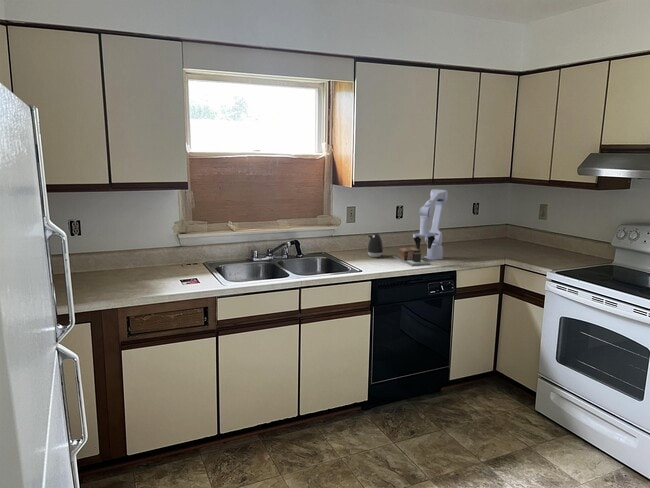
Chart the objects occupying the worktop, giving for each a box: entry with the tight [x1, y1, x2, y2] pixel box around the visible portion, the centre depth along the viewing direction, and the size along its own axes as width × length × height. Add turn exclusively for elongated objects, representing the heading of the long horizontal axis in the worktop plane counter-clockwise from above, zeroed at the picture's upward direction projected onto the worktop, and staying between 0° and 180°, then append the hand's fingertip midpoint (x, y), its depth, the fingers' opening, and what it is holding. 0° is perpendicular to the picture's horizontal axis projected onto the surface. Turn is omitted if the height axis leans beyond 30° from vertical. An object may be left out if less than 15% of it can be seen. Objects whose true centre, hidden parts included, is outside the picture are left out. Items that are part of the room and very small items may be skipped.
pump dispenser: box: [366, 233, 384, 259], centre depth 316 cm, size 10×10×15 cm
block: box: [405, 251, 414, 258], centre depth 309 cm, size 4×4×4 cm
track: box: [392, 254, 431, 267], centre depth 308 cm, size 12×25×1 cm, turn 19°
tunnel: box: [397, 246, 422, 260], centre depth 309 cm, size 12×8×6 cm
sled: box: [405, 253, 422, 262], centre depth 306 cm, size 7×15×5 cm, turn 19°
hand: (423, 248), depth 298 cm, fingers open, 7 cm apart
